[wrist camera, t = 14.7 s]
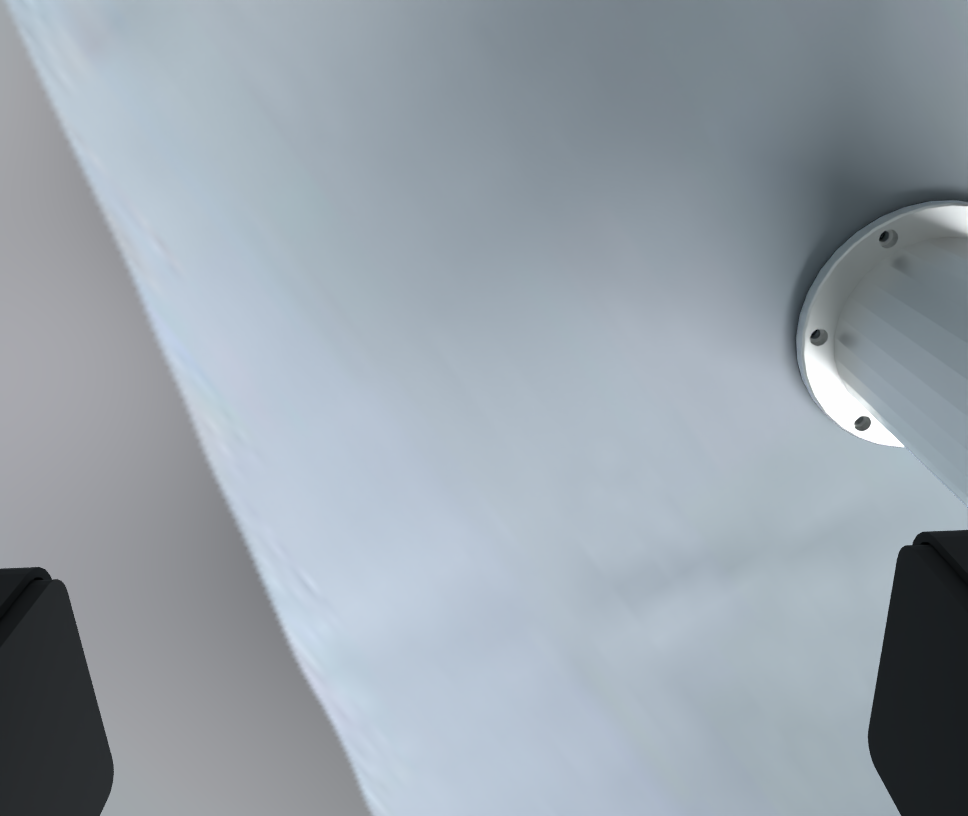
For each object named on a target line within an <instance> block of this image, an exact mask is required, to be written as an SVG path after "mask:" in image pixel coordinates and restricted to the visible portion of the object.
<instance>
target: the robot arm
mask: <svg viewBox="0 0 968 816" xmlns="http://www.w3.org/2000/svg"><path fill="white" fill-rule="evenodd" d="M884 231H885V236H884V238H882V239H881V240H879V238H880V235H881V234H882V233H883V232H884ZM815 330H817V333H816V334H815V335H814V336H811V334H812V333H813V332H814V331H815ZM796 345H797V361H798V365H799V369H800V372H801V376H802V380H803V382H804V384H805V386H806V388H807V390H808V392H809V394H810V395H811V397H812V399H813V400H814V401H815V403H816V404H817V405H818V406H819V407H820V409H821V410H822V411H823V412H824V413H825V414H826V415H827V416H828V417H829V418H830V419H831V420H832V421H833V422H834V423H835V424H836V425H838V426H839V427H840V428H842V429H843V430H845V431H846V432H848V433H850V434H851V435H853V436H855V437H857V438H860V439H863V440H866V441H869V442H872V443H875V444H878V445H885V446H892V447H905V448H906V449H907V450H908V451H909V452H910V453H911V454H913V455H914V456H915V457H916V458H917V459H918V460H919V461H920V462H921V463H922V464H923V465H924V466H925V467H926V468H927V469H928V470H929V471H930V472H931V473H932V474H933V475H934V476H935V477H936V478H937V479H938V480H939V481H940V482H942V483H943V484H944V485H945V486H946V487H947V488H948V489H949V490H950V491H951V492H952V493H953V494H954V495H955V496H956V497H957V498H958V499H959V500H960V501H961V502H962V503H963V504H964V505H965V506H966V507H967V508H968V202H965V201H959V200H944V201H929V202H924V203H920V204H916V205H911V206H907V207H903V208H901V209H899V210H896V211H894V212H892V213H889V214H887V215H884V216H882V217H880V218H878V219H877V220H875V221H873V222H872V223H870V224H869V225H867V226H866V227H864V228H862V229H861V230H859V231H858V232H856V233H855V234H854V235H853V236H852V237H851V238H850V239H848V240H847V241H846V242H845V243H844V244H843V245H842V246H841V247H839V248H838V249H837V250H836V251H835V253H834V254H833V255H832V256H831V258H830V259H829V260H828V261H827V262H826V264H825V265H824V266H823V267H822V269H821V270H820V272H819V273H818V275H817V277H816V279H815V280H814V282H813V284H812V286H811V287H810V289H809V291H808V293H807V296H806V299H805V301H804V304H803V307H802V310H801V313H800V316H799V323H798V329H797V336H796ZM858 417H859V419H857V418H858ZM856 419H857V420H856ZM868 744H869V750H870V755H871V758H872V761H873V764H874V766H875V768H876V770H877V772H878V774H879V776H880V778H881V779H882V781H883V783H884V785H885V787H886V789H887V790H888V792H889V794H890V796H891V798H892V800H893V801H894V803H895V805H896V807H897V809H898V811H899V812H900V814H901V816H968V530H957V531H932V532H922V533H920V534H918V535H917V536H916V538H915V539H914V541H913V545H907V546H904V547H902V548H901V550H900V551H899V554H898V558H897V563H896V569H895V575H894V581H893V587H892V593H891V599H890V605H889V611H888V617H887V622H886V628H885V634H884V640H883V646H882V652H881V658H880V664H879V670H878V676H877V682H876V688H875V694H874V700H873V706H872V712H871V718H870V724H869V730H868ZM113 770H114V769H113V760H112V756H111V753H110V748H109V745H108V741H107V737H106V734H105V730H104V726H103V722H102V718H101V715H100V711H99V707H98V704H97V700H96V696H95V693H94V689H93V685H92V681H91V677H90V674H89V670H88V666H87V663H86V659H85V655H84V651H83V648H82V644H81V640H80V637H79V633H78V629H77V625H76V621H75V618H74V614H73V610H72V607H71V603H70V599H69V595H68V592H67V589H66V587H65V585H64V583H63V582H62V581H60V580H58V579H55V580H52V579H51V577H50V575H49V574H48V572H47V571H46V570H45V569H43V568H40V567H31V568H8V569H0V816H100V814H101V812H102V810H103V807H104V805H105V803H106V801H107V799H108V797H109V794H110V791H111V787H112V783H113V775H114V771H113Z"/></svg>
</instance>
